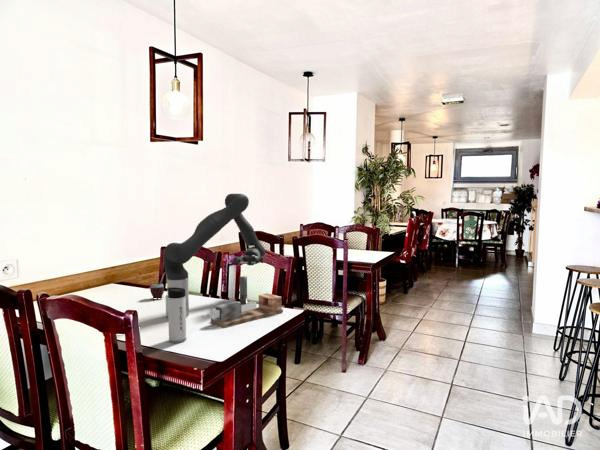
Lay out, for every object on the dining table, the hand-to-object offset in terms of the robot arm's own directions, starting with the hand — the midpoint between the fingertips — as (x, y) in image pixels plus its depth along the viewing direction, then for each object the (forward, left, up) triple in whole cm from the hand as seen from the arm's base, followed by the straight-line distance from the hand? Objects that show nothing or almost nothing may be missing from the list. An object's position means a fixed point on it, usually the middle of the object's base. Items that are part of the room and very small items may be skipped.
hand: (247, 261), depth 189 cm
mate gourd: (-19, +54, -24) cm, 62 cm away
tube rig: (-5, -8, -24) cm, 25 cm away
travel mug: (-43, -14, -24) cm, 51 cm away
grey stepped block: (-13, -8, -20) cm, 25 cm away
